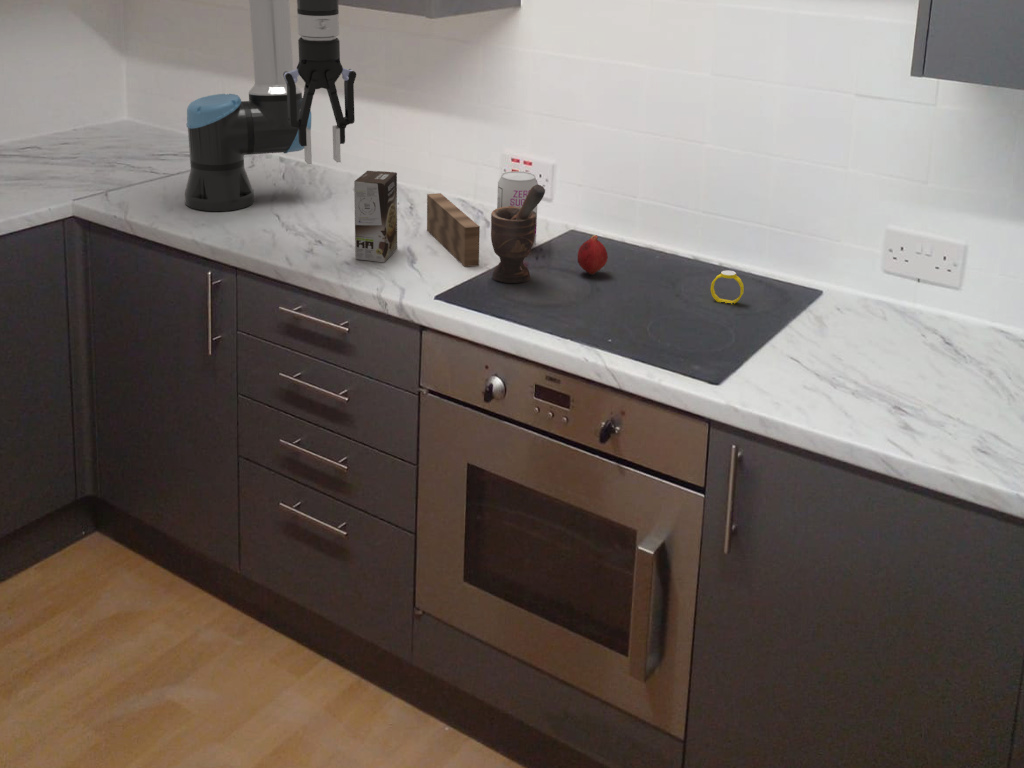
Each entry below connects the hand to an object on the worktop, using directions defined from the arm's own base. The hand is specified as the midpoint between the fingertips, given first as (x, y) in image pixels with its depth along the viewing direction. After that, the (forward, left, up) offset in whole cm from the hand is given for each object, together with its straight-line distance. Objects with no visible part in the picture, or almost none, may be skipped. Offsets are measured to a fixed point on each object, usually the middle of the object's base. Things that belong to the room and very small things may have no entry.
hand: (322, 161), depth 235 cm
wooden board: (0, +27, -20) cm, 33 cm away
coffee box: (0, +11, -20) cm, 23 cm away
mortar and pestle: (+22, +33, -20) cm, 44 cm away
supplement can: (+3, +40, -20) cm, 44 cm away
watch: (+44, +66, -20) cm, 81 cm away
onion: (+23, +48, -20) cm, 56 cm away
